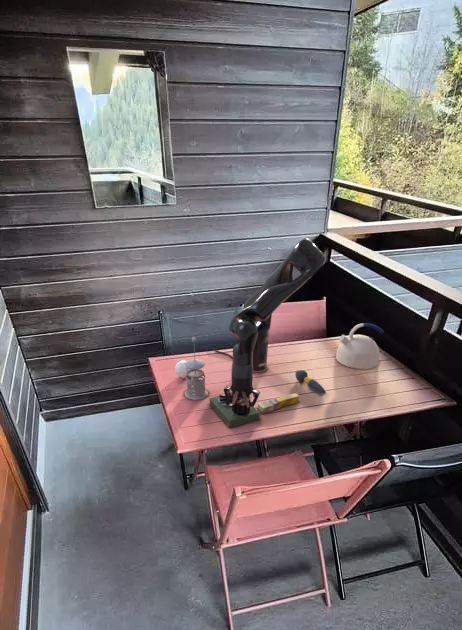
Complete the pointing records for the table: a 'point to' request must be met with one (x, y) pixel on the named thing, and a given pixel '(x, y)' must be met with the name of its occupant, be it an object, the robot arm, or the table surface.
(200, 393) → the french press
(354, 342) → the kettle
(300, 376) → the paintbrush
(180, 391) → the table surface
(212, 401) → the stove
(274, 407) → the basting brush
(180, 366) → the ball
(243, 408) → the stove knob
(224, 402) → the burner
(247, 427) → the table surface
